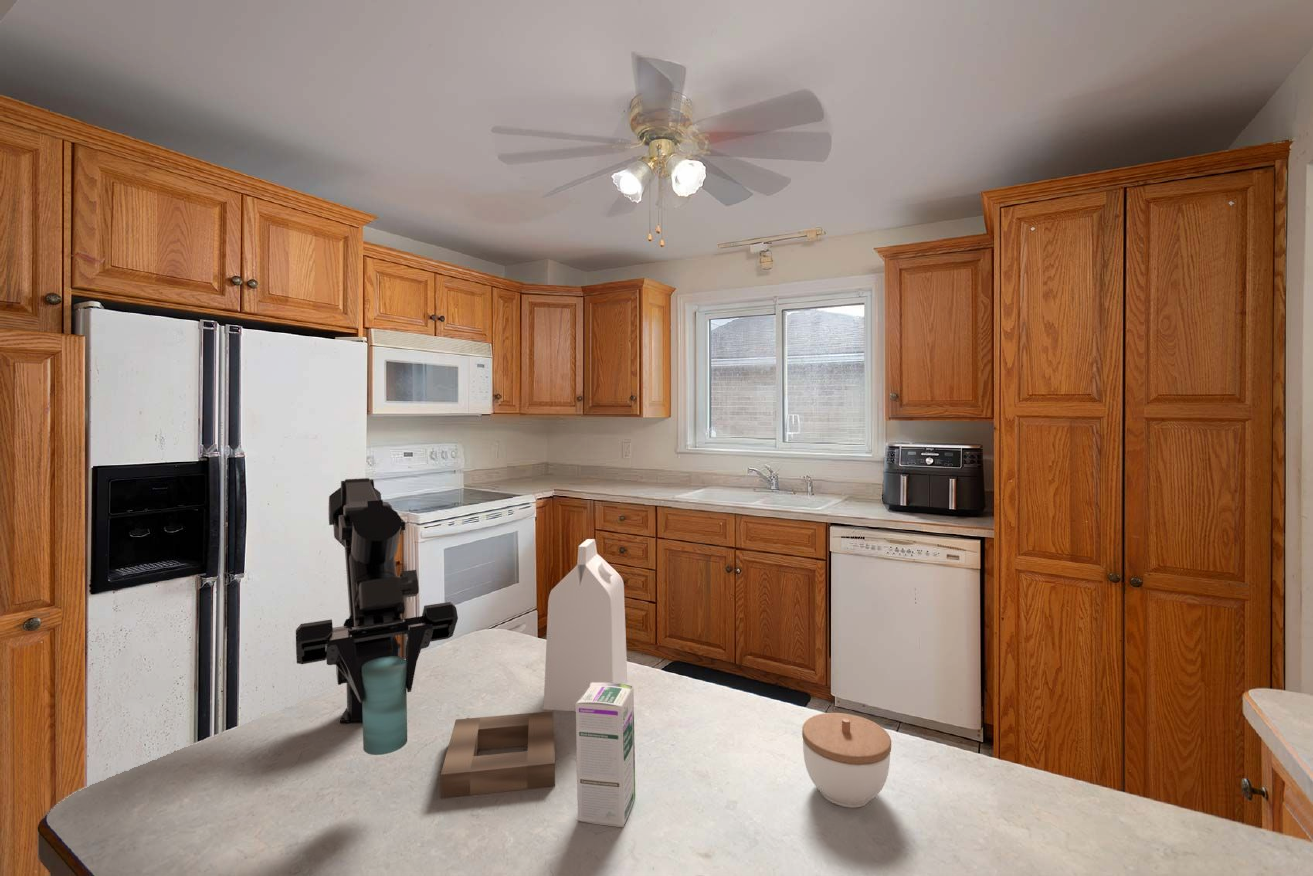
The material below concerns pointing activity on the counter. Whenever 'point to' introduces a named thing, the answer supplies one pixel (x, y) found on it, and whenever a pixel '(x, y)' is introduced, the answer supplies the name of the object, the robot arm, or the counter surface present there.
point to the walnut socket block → (499, 755)
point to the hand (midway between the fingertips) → (386, 695)
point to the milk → (584, 631)
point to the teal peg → (384, 705)
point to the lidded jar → (846, 757)
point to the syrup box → (605, 754)
